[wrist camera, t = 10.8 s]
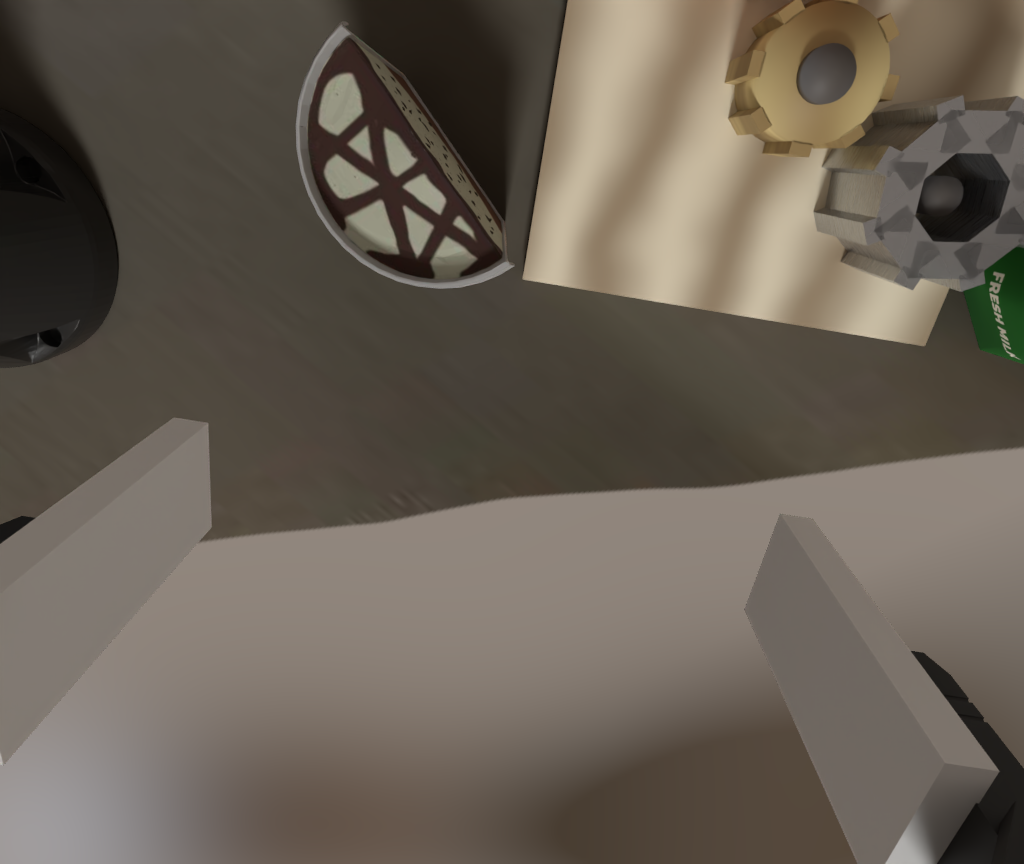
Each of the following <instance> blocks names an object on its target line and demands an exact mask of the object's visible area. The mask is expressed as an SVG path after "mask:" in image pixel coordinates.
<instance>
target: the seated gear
mask: <svg viewBox="0 0 1024 864" xmlns="http://www.w3.org/2000/svg"><path fill="white" fill-rule="evenodd" d="M872 117H873V123H874V126H873V127H872V128H871V129H869V130H868V131H867V132H866V133H865V134H866V135H864V136H863V137H861V138H860V139H859V140H857V141H856V142H854V143H853V144H852V145H851V146H848V147H847V148H833V149H832V150H831V152H830V154H829V155H828V157H827V159H826V161H825V162H824V164H823V166H822V167H823V168H825V169H827V170H829V171H831V172H832V174H831V179H830V184H829V189H828V194H827V199H826V204H825V208H822V209H820V210H817V211H814V212H813V213H814V218H815V223H816V228H817V231H818V232H821V233H825V234H828V235H832V236H835V237H837V238H838V240H839V241H840V242H841V244H842V245H843V246H844V248H845V249H846V250H847V252H846V254H845V255H844V257H843V258H842V260H841V262H842V263H844V264H846V265H848V266H850V267H852V268H855V269H857V270H859V271H862V272H864V273H867V274H870V275H873V276H875V277H878V278H881V279H883V280H886V281H889V282H891V283H894V284H897V285H899V286H902V287H905V288H907V289H910V290H913V289H914V288H915V287H916V285H917V284H918V282H919V281H920V279H921V278H922V279H924V280H927V281H930V282H933V283H936V284H939V285H942V286H945V287H948V288H951V289H954V290H957V291H960V292H962V291H965V290H967V289H970V288H973V287H976V286H979V285H982V284H985V276H984V270H986V269H987V268H988V267H990V266H991V265H992V264H994V263H995V262H996V261H998V260H999V259H1000V258H1002V257H1003V256H1004V255H1006V254H1007V253H1008V252H1010V251H1011V250H1012V249H1014V248H1015V247H1016V246H1017V247H1022V248H1024V99H1022V98H1020V97H1019V96H1012V97H1003V98H995V99H986V100H978V101H969V102H964V96H963V95H960V96H953V97H945V98H937V99H930V100H922V101H915V102H907V103H900V104H893V105H891V106H888V107H886V108H883V109H881V110H878V111H876V112H873V113H872ZM931 173H934V174H935V176H950V177H954V178H956V179H958V180H959V181H960V182H961V184H962V186H963V198H962V200H961V202H960V204H959V205H958V207H957V208H956V209H955V210H954V211H953V212H951V213H949V214H947V215H945V216H931V215H925V214H919V215H918V216H917V217H915V214H916V210H917V206H918V202H919V198H920V194H921V190H922V186H923V182H924V179H925V178H927V177H928V176H929V175H930V174H931Z"/></svg>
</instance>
